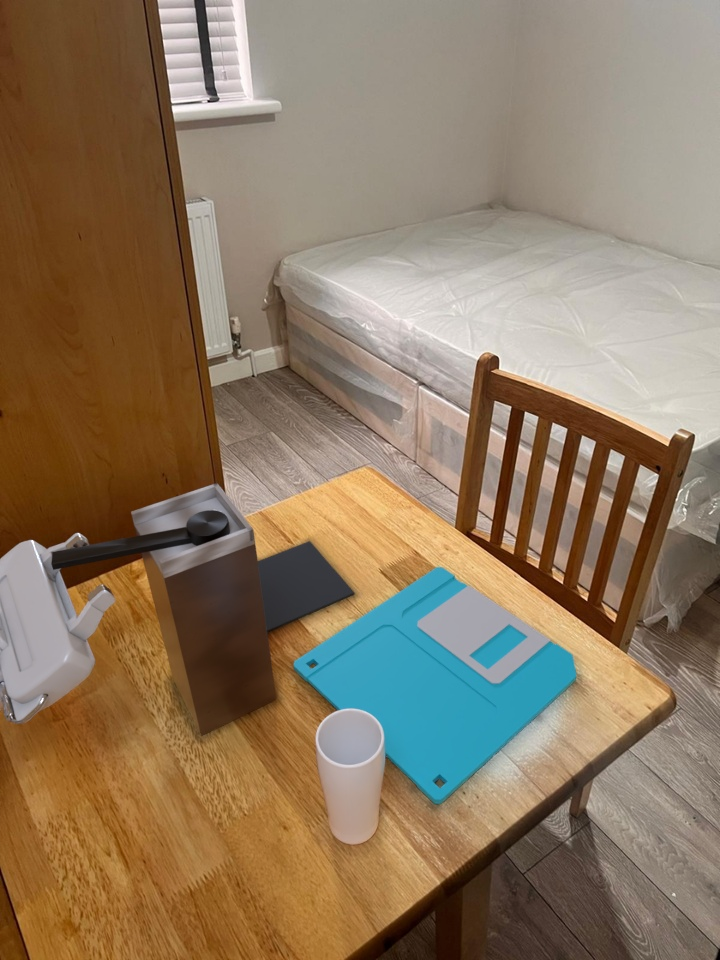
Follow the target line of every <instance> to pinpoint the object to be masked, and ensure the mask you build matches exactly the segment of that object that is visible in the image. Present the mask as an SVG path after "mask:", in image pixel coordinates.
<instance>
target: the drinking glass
mask: <svg viewBox="0 0 720 960" xmlns="http://www.w3.org/2000/svg"><path fill="white" fill-rule="evenodd" d="M314 741H315V762H316V768H317V775H318V778H319V782H320V787H321V791H322V796H323V799H324V804H325V808H326V812H327V820H328V827H329V830H330V831H331V833H332V835H333V837H335V838H336V839H337V840H338V841H339V842H341V843H343V844H346V845H351V846H352V845H361V844H364V843H365V842H367V841H368V840H369V839H372V837H373V836H374V834H375V833H376V831H377V829H378V826H379V820H380V819H379V818H380V817H379V816H380V815H379V814H380V813H379V812H380V805H381V804H380V803H381V796H382V789H383V783H384V776H385V768H386V756H385V739H384V731H383V728H382V726H381V724H380V723H379V721H378V720H377V719H376V718H375V717H374V716H373V715H371V714H369V713H368V712H366V711H363V710H359V709H342V710H339V711H338V710H336V711H333V712H332V713H330V714H328V715H327V716H326V717H325V718H324V719H323V720H322V721H321V722H320V724H319V725H318V727H317V729H316V733H315V739H314Z"/></svg>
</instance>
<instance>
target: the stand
mask: <svg viewBox="0 0 720 960" xmlns="http://www.w3.org/2000/svg"><path fill="white" fill-rule="evenodd" d="M206 510H216V511H220V512H222V513H224V514H225V515H226V516H227V517H228V521H229V527H230V534H229V535H226V536H224V537H221V538H218V539H216V540H213V541H210V542H207V543H205V544H202V545H199V546H196V545H194V544H192V543H191V544H185V545H180V546H175V547H170V548H165V549H159V550H154V551H149V552H144V553H140V554H141V557H142V561H143V566H144V569H145V573H146V577H147V581H148V585H149V589H150V593H151V598H152V602H153V606H154V609H155V613H156V617H157V621H158V624H159V625H158V626H159V628H160V632H161V633H160V634H161V637H162V640H163V641H162V642H163V645H164V649H165V653H166V656H167V661H168V664H169V669H170V672H171V676H172V680H173V682H174V684H175V686H176V688H177V691H178V692H179V695H180V697H181V698H182V700H183V703H184V704H185V707H186V709H187V710H188V712H189V714H190V716H191V718H192V721H193V722H194V724H195V727H196V729H197V730H198V732H199V735H200V736H201V737H202V736H205V735H207V734H209V733H211V732H212V731H215V730H216V729H217V730H218V729H219V728H222V727H223V726H225V725H227V724H230V723H231V722H234V721H236V720H238V719H240V718H242V717H244V716H246V715H249V714H251V713H252V712H254V711H256V710H258V709H260V708H262V707H265V706H267V705H269V704H271V703H273V702H275V701H277V696H276V695H277V694H276V687H275V680H274V672H273V665H272V657H271V651H270V643H269V635H268V632H267V627H266V619H265V612H264V605H263V597H262V590H261V582H260V575H259V567H258V561H259V560H258V553H257V546H256V545H257V544H256V540H255V539H256V537H255V531H254V528H253V527H252V525H251V524H250V522H249V521H247V519H246V517H245V516H244V515H243V513H242V512H241V511H240V509H238V508H237V506H236V505H235V504H234V502H233V501H232V500H231V499H230V498H229V496H228V495H227V493H226V492H225V491H224V490H223V488H222V487H221V486H220V484H219V483H218V482H216V483H212V484H210V485H207V486H204V487H201V488H198V489H195V490H192V491H188V492H186V493H183V494H180V495H177V496H174V497H170V498H168V499H165V500H162V501H159V502H156V503H153V504H150V505H147V506H144V507H141V508H138V509H135V510H132V511H130V514H131V518H132V522H133V526H134V530H135V533H136V536H140V535H146V534H151V533H156V532H162V531H167V530H172V529H178V528H183V527H186V524H187V521H188V520H189V518H190V517H192V516H193V515H194V514H196V513H199V512H202V511H206Z"/></svg>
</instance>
